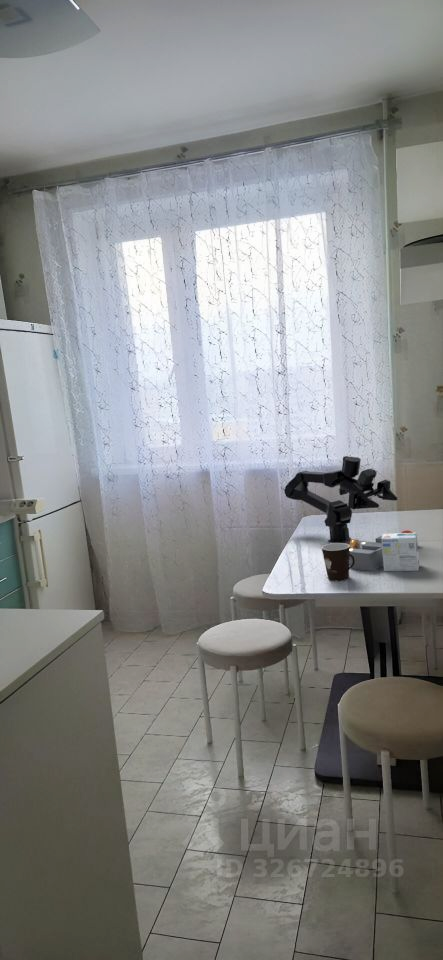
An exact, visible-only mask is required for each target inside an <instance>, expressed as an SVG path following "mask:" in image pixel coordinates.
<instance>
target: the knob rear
mask: <svg viewBox="0 0 443 960" xmlns="http://www.w3.org/2000/svg"><path fill="white" fill-rule="evenodd" d="M368 542H369V541H368ZM368 542H367V541H360V540H359V539H350V541H349V545H350V549H362V545H363V544H366V543H368Z"/></svg>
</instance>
